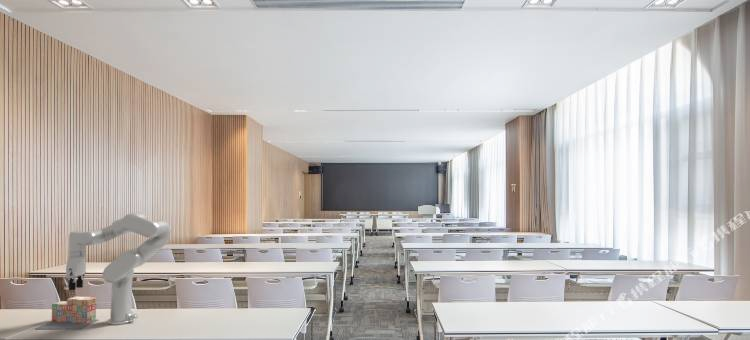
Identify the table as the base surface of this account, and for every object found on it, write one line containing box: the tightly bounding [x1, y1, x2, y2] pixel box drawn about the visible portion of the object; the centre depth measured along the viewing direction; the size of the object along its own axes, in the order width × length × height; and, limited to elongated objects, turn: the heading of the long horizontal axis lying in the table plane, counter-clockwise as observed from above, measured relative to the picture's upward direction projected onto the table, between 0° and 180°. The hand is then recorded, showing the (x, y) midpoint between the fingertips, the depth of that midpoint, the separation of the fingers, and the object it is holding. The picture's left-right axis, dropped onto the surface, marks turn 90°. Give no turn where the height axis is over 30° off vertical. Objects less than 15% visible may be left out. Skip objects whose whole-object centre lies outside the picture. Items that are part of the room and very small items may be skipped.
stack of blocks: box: [51, 295, 97, 324], centre depth 240 cm, size 21×6×12 cm, turn 80°
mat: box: [34, 319, 99, 331], centre depth 234 cm, size 22×16×1 cm
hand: (75, 288), depth 241 cm, fingers open, 5 cm apart
